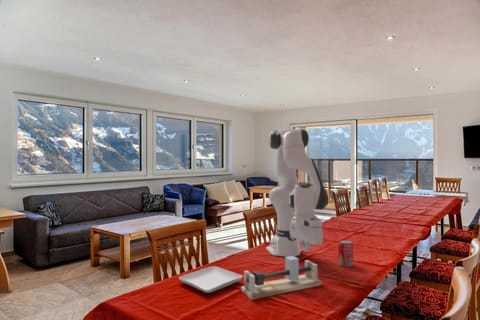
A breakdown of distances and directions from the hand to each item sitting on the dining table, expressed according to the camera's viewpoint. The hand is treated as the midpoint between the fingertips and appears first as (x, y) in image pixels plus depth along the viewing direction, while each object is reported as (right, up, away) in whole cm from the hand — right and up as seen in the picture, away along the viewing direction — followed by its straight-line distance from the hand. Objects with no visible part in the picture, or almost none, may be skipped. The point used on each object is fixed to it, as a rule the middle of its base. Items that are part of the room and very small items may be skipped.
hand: (305, 250), depth 143 cm
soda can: (+25, -14, +23) cm, 37 cm away
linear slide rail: (-11, -14, -4) cm, 19 cm away
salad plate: (-42, -15, +2) cm, 45 cm away
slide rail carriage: (-6, -11, -2) cm, 13 cm away
